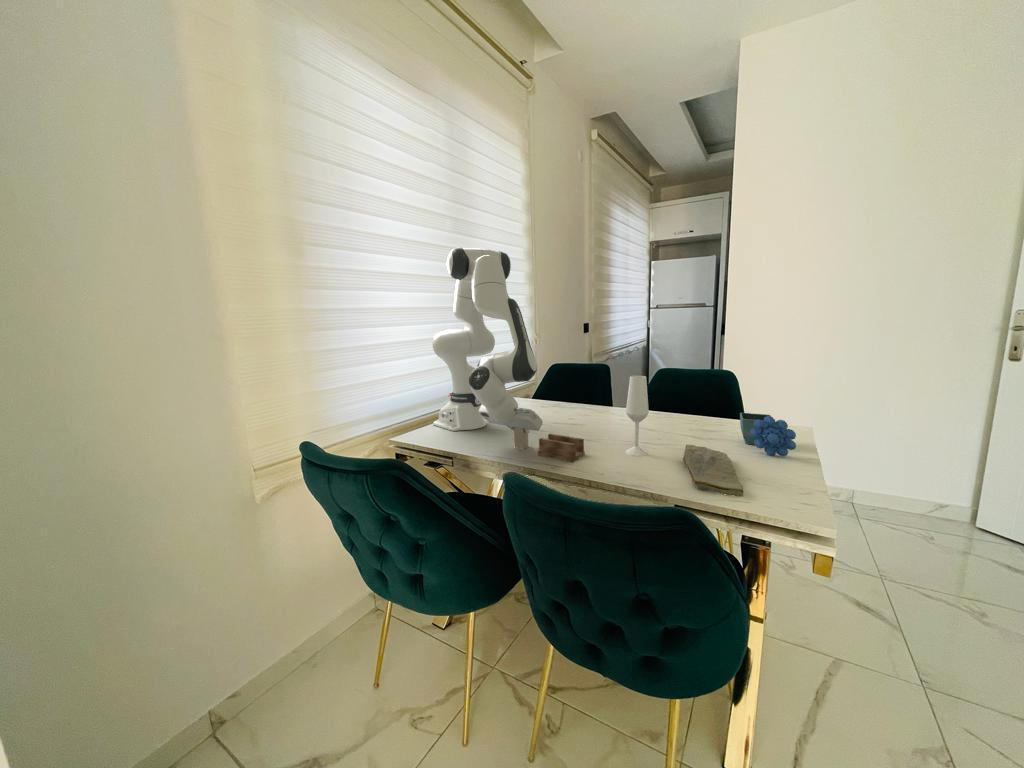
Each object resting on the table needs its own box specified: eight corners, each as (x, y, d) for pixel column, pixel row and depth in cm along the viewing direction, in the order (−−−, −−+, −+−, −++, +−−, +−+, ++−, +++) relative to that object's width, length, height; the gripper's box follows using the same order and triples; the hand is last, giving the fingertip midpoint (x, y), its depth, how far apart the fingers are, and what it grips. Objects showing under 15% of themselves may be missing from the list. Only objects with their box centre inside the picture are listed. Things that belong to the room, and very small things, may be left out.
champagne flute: (647, 456, 119) (649, 378, 115) (624, 454, 121) (626, 378, 117) (647, 449, 125) (649, 375, 122) (625, 448, 128) (627, 375, 124)
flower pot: (772, 448, 123) (774, 420, 122) (740, 445, 127) (741, 418, 126) (768, 440, 131) (770, 414, 130) (737, 437, 135) (739, 412, 133)
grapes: (748, 457, 117) (751, 417, 115) (748, 450, 122) (751, 412, 120) (796, 463, 111) (800, 422, 109) (794, 456, 116) (797, 416, 114)
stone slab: (724, 446, 119) (748, 481, 91) (723, 459, 119) (747, 499, 91) (679, 442, 123) (690, 476, 95) (679, 455, 123) (689, 492, 95)
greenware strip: (514, 447, 131) (513, 418, 130) (519, 445, 134) (519, 416, 132) (523, 449, 129) (522, 419, 128) (528, 446, 132) (527, 417, 130)
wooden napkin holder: (538, 455, 123) (538, 439, 122) (551, 448, 130) (550, 433, 129) (573, 462, 116) (573, 445, 115) (584, 454, 123) (584, 438, 122)
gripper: (535, 402, 117) (551, 426, 126) (482, 396, 128) (500, 418, 138) (527, 420, 114) (545, 443, 123) (473, 412, 125) (493, 433, 135)
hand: (521, 430), depth 131 cm, fingers closed on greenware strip, 3 cm apart
